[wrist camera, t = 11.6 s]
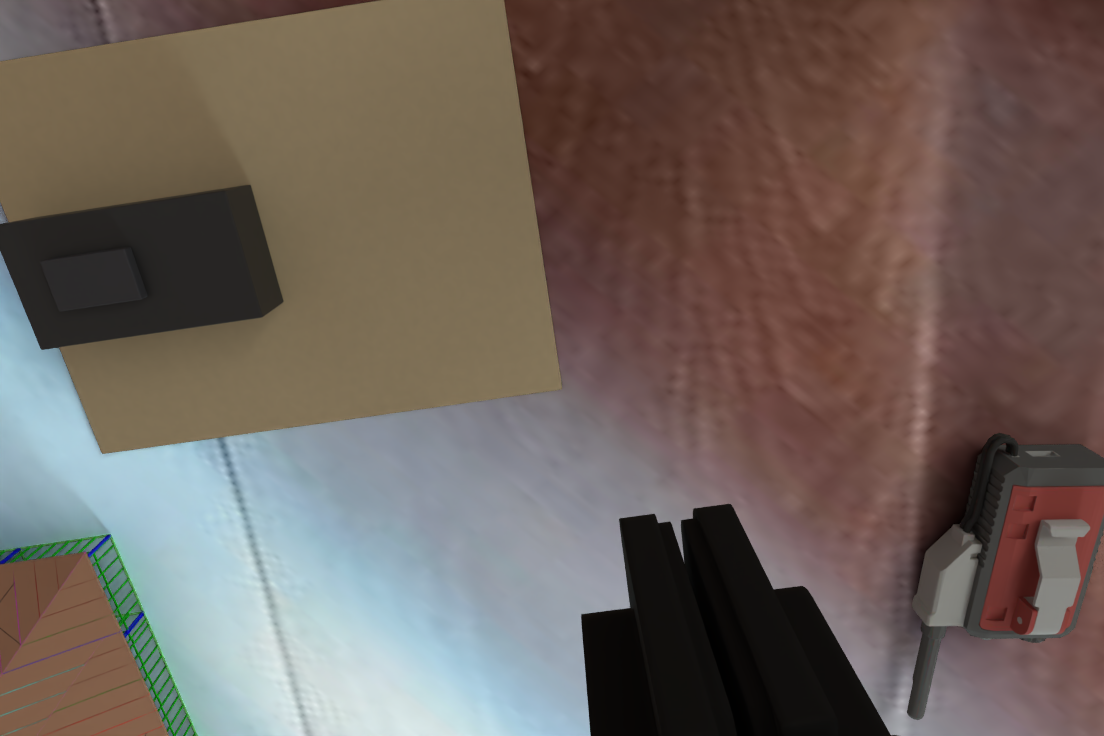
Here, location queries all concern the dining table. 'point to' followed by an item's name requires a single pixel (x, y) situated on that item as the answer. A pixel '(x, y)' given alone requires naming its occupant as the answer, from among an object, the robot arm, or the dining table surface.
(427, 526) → the dining table surface
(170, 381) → the cork mat
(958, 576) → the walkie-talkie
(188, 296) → the block
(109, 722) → the house
